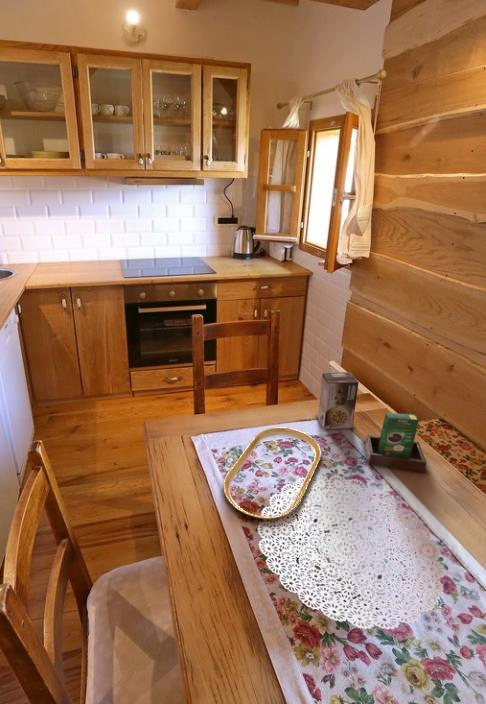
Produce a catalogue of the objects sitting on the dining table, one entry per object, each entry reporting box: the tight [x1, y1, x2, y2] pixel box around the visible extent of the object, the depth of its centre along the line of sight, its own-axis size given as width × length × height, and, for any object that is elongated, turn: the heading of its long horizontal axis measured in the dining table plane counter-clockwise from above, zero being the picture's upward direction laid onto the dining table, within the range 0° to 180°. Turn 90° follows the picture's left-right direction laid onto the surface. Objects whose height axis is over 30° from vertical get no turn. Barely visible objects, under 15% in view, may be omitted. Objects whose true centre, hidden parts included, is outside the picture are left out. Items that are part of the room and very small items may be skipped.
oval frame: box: [223, 426, 322, 520], centre depth 104 cm, size 19×35×2 cm, turn 151°
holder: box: [364, 434, 428, 474], centre depth 109 cm, size 9×14×4 cm, turn 77°
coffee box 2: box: [377, 412, 420, 458], centre depth 107 cm, size 8×3×13 cm, turn 87°
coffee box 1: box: [317, 371, 360, 430], centre depth 121 cm, size 9×6×16 cm
